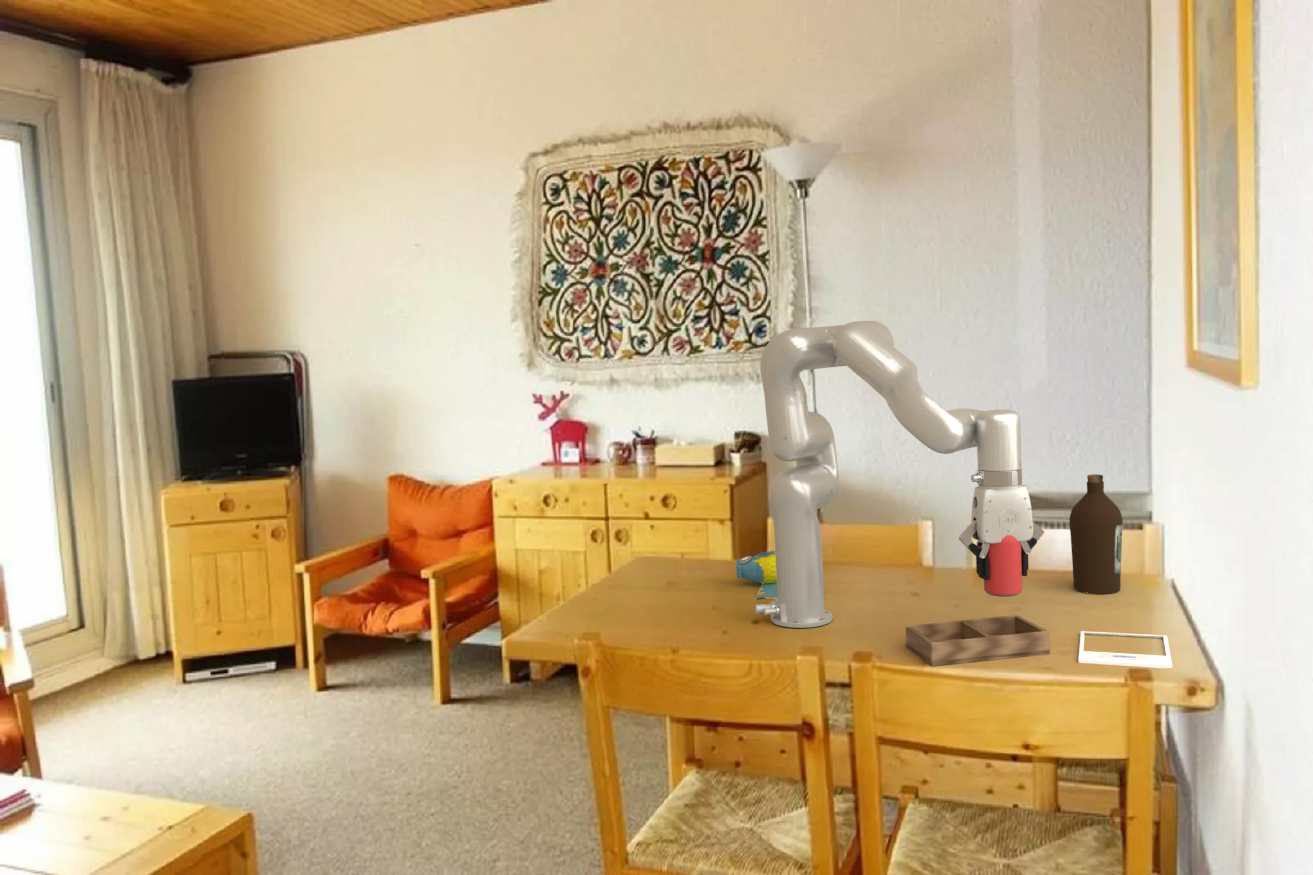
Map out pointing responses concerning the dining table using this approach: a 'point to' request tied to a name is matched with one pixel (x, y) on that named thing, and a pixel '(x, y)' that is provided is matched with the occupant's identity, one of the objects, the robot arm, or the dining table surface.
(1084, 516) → the olive oil
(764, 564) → the fish figurine
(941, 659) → the crate
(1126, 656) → the photo frame
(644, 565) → the dining table surface
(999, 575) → the beer can
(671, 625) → the dining table surface
